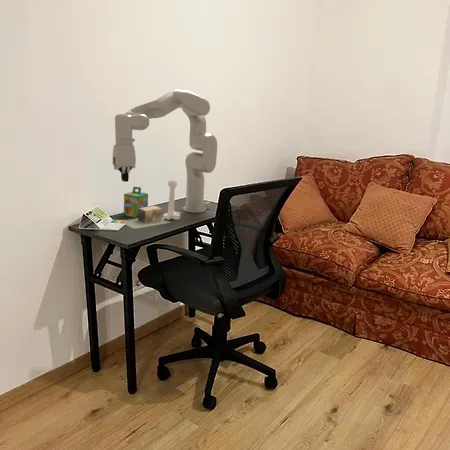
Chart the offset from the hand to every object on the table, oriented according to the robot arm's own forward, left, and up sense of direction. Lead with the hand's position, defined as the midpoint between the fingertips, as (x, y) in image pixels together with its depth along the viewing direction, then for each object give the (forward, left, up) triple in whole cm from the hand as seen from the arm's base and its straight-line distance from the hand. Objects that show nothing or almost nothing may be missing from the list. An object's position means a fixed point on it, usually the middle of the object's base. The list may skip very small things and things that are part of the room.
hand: (125, 181), depth 223 cm
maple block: (-9, 0, -18) cm, 20 cm away
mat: (-10, +2, -21) cm, 24 cm away
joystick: (-26, +3, -21) cm, 33 cm away
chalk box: (-13, -12, -22) cm, 28 cm away
